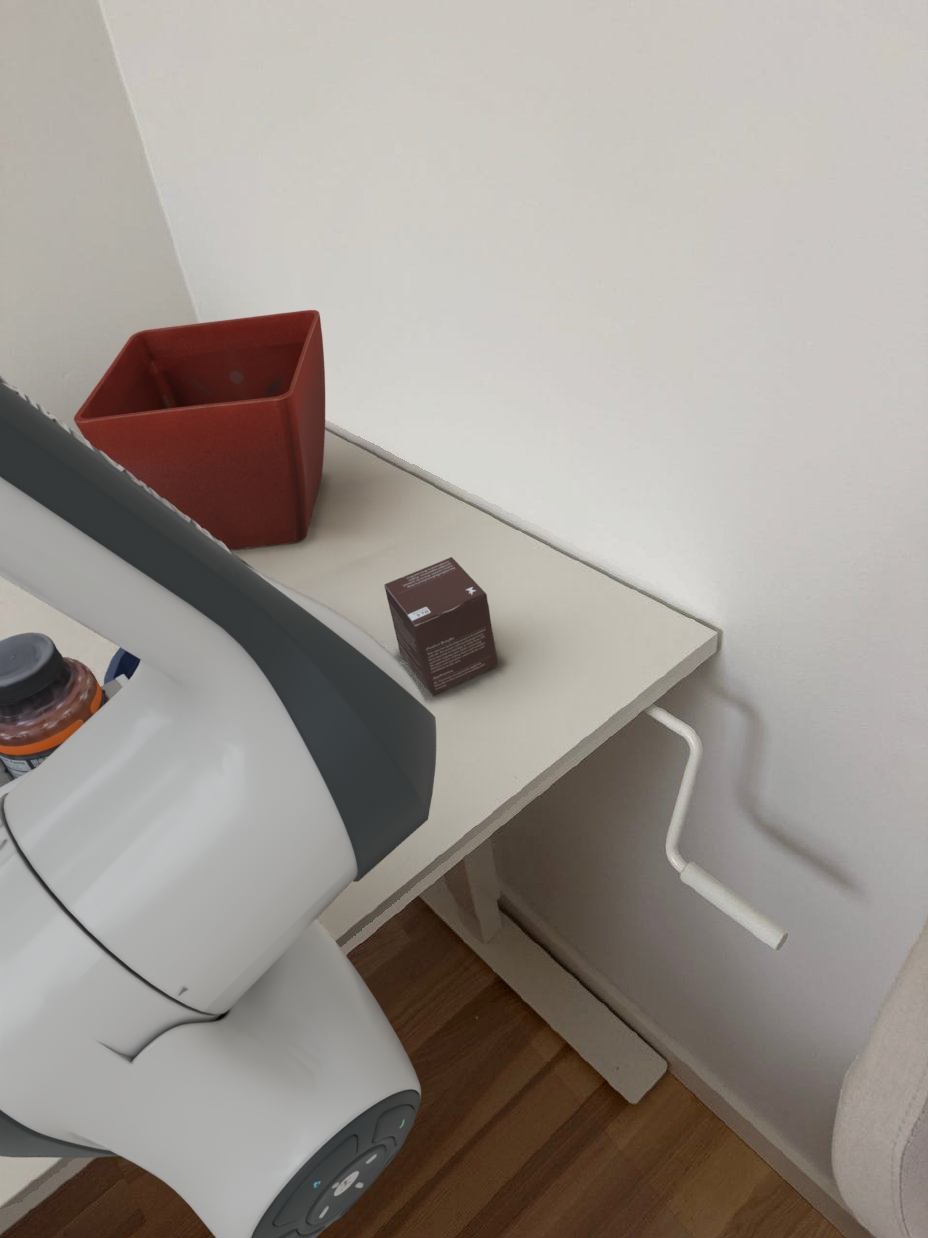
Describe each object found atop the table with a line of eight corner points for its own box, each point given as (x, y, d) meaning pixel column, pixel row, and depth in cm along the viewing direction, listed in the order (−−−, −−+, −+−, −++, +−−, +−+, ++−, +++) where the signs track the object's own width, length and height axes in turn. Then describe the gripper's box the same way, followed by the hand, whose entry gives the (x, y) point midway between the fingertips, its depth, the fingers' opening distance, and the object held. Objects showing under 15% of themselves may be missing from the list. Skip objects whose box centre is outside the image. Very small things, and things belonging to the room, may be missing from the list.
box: (466, 627, 79) (453, 554, 74) (500, 667, 74) (489, 593, 70) (399, 655, 77) (381, 583, 72) (429, 698, 72) (413, 624, 68)
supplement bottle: (122, 751, 57) (44, 602, 50) (172, 800, 53) (96, 647, 46) (28, 812, 54) (-67, 664, 47) (75, 869, 50) (-22, 716, 43)
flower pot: (334, 560, 89) (289, 394, 78) (138, 580, 91) (68, 421, 80) (356, 458, 104) (320, 306, 93) (187, 477, 106) (133, 330, 95)
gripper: (337, 709, 44) (207, 587, 53) (-125, 991, 35) (-185, 787, 44) (365, 800, 48) (239, 671, 57) (-46, 1073, 39) (-115, 870, 48)
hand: (50, 724), depth 51 cm, fingers closed on supplement bottle, 6 cm apart
